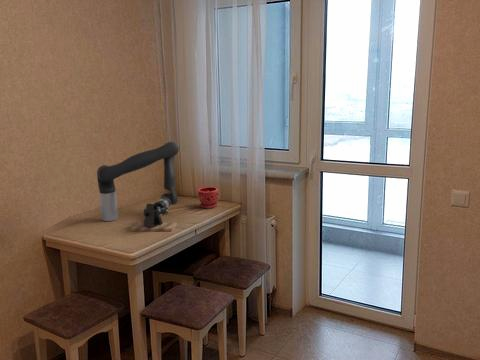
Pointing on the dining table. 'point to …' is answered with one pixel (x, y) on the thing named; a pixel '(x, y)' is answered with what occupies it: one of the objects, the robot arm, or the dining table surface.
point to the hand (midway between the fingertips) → (150, 214)
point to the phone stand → (152, 216)
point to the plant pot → (208, 197)
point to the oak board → (161, 227)
